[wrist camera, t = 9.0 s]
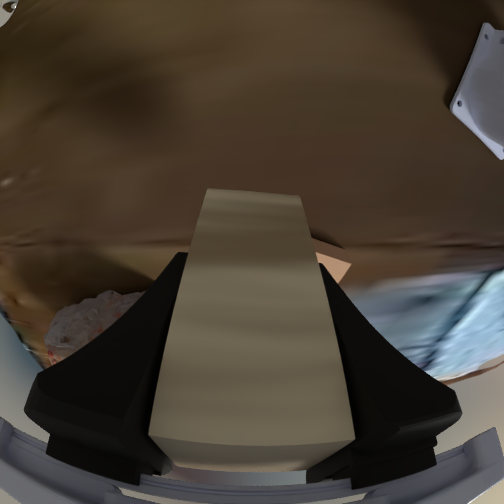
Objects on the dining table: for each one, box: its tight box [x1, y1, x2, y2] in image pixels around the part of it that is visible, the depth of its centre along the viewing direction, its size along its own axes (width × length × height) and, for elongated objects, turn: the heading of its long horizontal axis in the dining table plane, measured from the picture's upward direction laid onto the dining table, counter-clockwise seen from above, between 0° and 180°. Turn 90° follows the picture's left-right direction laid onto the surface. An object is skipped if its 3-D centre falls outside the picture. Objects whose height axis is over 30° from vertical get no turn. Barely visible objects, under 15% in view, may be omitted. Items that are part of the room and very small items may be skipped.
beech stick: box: [148, 189, 355, 472], centre depth 10 cm, size 4×4×10 cm
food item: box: [44, 290, 145, 365], centre depth 24 cm, size 14×8×10 cm, turn 107°
